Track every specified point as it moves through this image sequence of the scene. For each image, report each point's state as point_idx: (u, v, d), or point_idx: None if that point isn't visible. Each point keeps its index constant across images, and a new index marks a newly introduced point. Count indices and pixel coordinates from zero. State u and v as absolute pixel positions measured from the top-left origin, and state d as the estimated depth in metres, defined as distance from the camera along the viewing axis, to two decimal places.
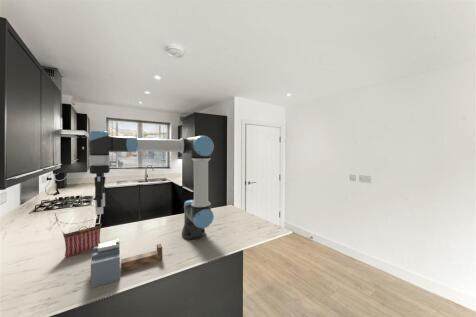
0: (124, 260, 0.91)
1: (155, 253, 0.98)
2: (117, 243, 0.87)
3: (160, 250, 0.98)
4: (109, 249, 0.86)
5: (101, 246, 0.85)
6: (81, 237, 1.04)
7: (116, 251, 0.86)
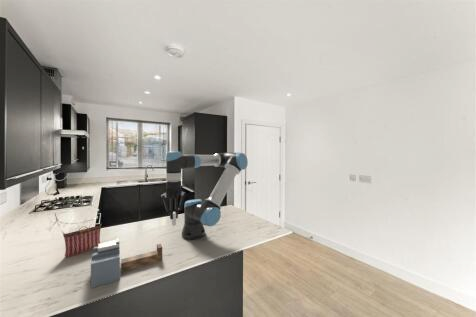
0: (124, 260, 0.91)
1: (155, 253, 0.98)
2: (117, 243, 0.87)
3: (160, 250, 0.98)
4: (109, 249, 0.86)
5: (101, 246, 0.85)
6: (81, 237, 1.04)
7: (116, 251, 0.86)
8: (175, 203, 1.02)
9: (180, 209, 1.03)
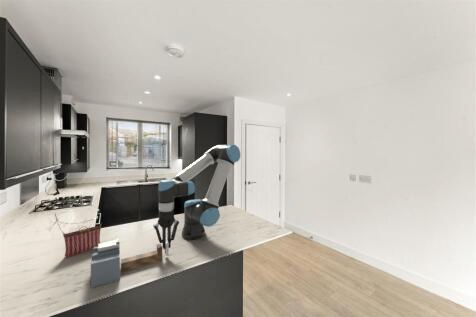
0: (124, 260, 0.91)
1: (155, 253, 0.98)
2: (117, 243, 0.87)
3: (160, 250, 0.98)
4: (109, 249, 0.86)
5: (101, 246, 0.85)
6: (81, 237, 1.04)
7: (116, 251, 0.86)
8: (168, 232, 1.01)
9: (173, 238, 1.02)
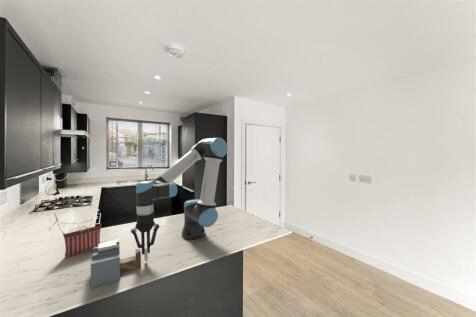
0: None
1: (133, 259, 0.92)
2: (117, 243, 0.87)
3: (138, 255, 0.93)
4: (109, 249, 0.86)
5: (101, 246, 0.85)
6: (81, 237, 1.04)
7: (116, 251, 0.86)
8: (147, 237, 0.95)
9: (152, 243, 0.96)
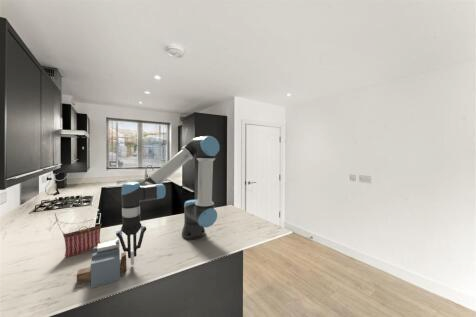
0: (81, 271, 0.83)
1: None
2: (116, 243, 0.87)
3: (124, 259, 0.89)
4: (108, 249, 0.86)
5: (100, 246, 0.85)
6: (81, 237, 1.04)
7: (116, 251, 0.86)
8: (133, 240, 0.92)
9: (139, 246, 0.93)
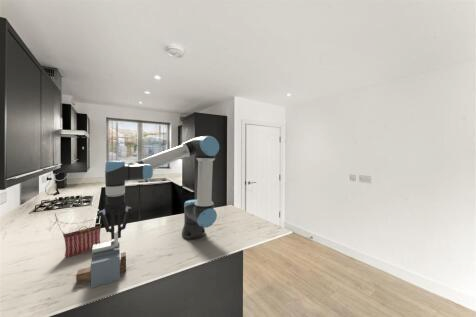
0: (81, 271, 0.83)
1: None
2: (112, 244, 0.86)
3: (123, 259, 0.89)
4: (104, 250, 0.85)
5: (96, 247, 0.84)
6: (81, 237, 1.04)
7: (116, 251, 0.86)
8: None
9: (123, 227, 0.90)
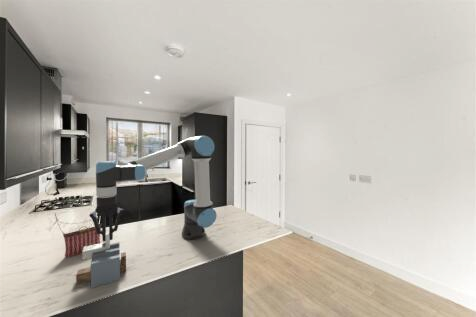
0: (81, 271, 0.83)
1: None
2: (103, 246, 0.85)
3: (123, 259, 0.89)
4: (94, 252, 0.83)
5: (86, 249, 0.83)
6: (81, 237, 1.04)
7: (116, 251, 0.86)
8: (109, 222, 0.87)
9: (115, 229, 0.88)
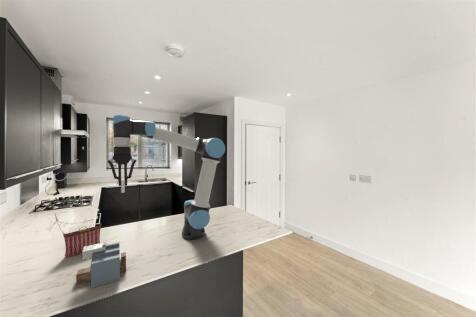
0: (81, 271, 0.83)
1: None
2: (103, 246, 0.85)
3: (123, 259, 0.89)
4: (94, 252, 0.83)
5: (86, 249, 0.83)
6: (81, 237, 1.04)
7: (116, 251, 0.86)
8: (124, 170, 0.99)
9: (129, 176, 1.00)
